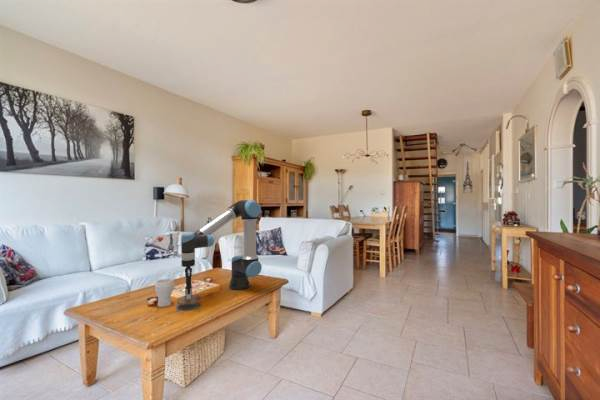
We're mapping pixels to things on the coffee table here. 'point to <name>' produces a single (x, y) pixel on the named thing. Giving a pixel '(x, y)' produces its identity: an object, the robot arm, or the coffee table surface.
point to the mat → (187, 307)
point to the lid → (193, 299)
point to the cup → (164, 291)
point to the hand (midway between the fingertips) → (188, 297)
